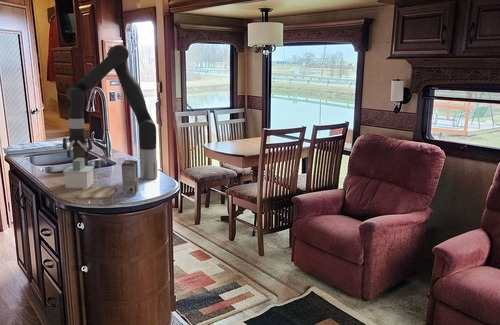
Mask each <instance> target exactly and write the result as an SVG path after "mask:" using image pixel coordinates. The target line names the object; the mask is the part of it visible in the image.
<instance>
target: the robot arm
mask: <svg viewBox="0 0 500 325" xmlns="http://www.w3.org/2000/svg"><path fill="white" fill-rule="evenodd" d="M129 54H130V52H129V50H128V48H127V47H126V46H125V45H123V44H116V45H114V46H112V47H110V48H109V49H108V51H107V56H106V57H105V59H104V60H102V61H101V62H100V63H99V64H97V65H96V66H95V67H93V68H92V69H91V70H89V71H88V72H87V73H86V74H85V75H84V76H82V78H81V79H80V80H78V81H77V82H75V83H74V84H72V85H71V86H69V88H68V89H67V90H66V92H65V96H66V99H67V100H69V101H70V106H69V107H68V135H69V137H63V138H62V149H63V150H64V151H66V156H67V157H68V159H71V158H72V150H71V149H73V146H74V147H76V146H78V147H82V148H83V149H84V150H85V158H87V159H89V157H90V151H91V150H93V141H92V140H93V139H92V138H90V137H89V138H86V132H85V131H86V130H85V129H86V128H85V125H86V124H85V119H84V107H85V102H86V101H85V100H86V96H85V94H86V93H87V92H89V91H92V90H93V89H94V88H95V87H96V86H97V85H98V84H100V82H101V81H102V80H103V79H104V78H105V77H106V76H107V75H108V74H109V73H111V71H113V70H114V71H115V73H116V75H117V78H118V82H119V83H120V86H121V88H122V92H123V94H124V96H125V99H126V101H127V103H128V105H129V106H130V109H132V111H133V113H134V115H135V118H136V122H137V124H138V138H139V139H138V140H139V142H138V144H139V145H138V146H139V176H140V179H141V180H146V181H148V180H156V179H157V177H158V159H157V126H156V124H155V122H154V120H153V119H152V117H151V115H150V113H149V111H148V108H147V104H146V101H145V96H144V93H143V90H142V88H141V86H140V84H139V82H138V80H137V79H136V78H135V76H134V75H133V73H132V72H131V70H130V68H129V66H128V64H127V60H128V58H129ZM85 141H87V143H86V144H87V146H86V144H85ZM68 142H69V143H70V144H68Z"/></svg>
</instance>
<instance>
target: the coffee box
mask: <svg viewBox="0 0 500 325" xmlns="http://www.w3.org/2000/svg"><path fill="white" fill-rule="evenodd" d="M138 167H139V166H138V160H134V159H133V160H131V159H130V160H129V159H128V160H124V161H123V162H122V164H121V178H122V179H121V180H122V182H121V183H122V186H121V188H122V196H126V197H127V196H129V197H132V196H133V197H136V195H137V193H138V192H139V170H138V169H139V168H138Z"/></svg>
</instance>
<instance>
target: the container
mask: <svg viewBox="0 0 500 325" xmlns="http://www.w3.org/2000/svg"><path fill="white" fill-rule="evenodd" d="M85 144H86V146H87V147H88V143H87V141H85ZM72 154H73V160H75V159H76V158H84V160H85V166H89V161H88V158H85V150H84V149H83V148H82V147H78V146H76V147H74V146H73V147H72Z"/></svg>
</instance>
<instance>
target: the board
mask: <svg viewBox="0 0 500 325" xmlns="http://www.w3.org/2000/svg"><path fill="white" fill-rule="evenodd" d="M117 190H118V187H102V186H101V187H98V186H97V187H94V186H93V187H91V186H89V187H85V188H82V189H81V190H80V192H79V193H78V194H75V196H74V199H75V200H76V199H78V200H79V199H80V200H82V199H83V200H86V199H87V200H110V199H111V198H112V196H114V194H115V193H116V192H117Z"/></svg>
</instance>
